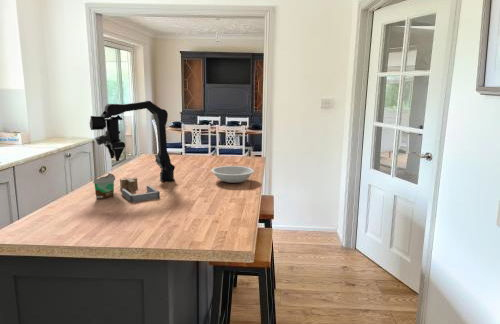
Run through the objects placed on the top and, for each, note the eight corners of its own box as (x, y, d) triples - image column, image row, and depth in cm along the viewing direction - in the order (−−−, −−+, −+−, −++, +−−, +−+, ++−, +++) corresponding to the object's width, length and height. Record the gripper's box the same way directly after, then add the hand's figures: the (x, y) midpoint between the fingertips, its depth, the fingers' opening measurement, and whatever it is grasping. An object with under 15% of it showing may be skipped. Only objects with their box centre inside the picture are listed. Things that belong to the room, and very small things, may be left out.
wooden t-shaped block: (136, 186, 191) (135, 177, 190) (141, 190, 185) (140, 180, 184) (120, 188, 187) (120, 179, 186) (125, 192, 180) (124, 182, 179)
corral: (149, 191, 183) (149, 185, 182) (159, 197, 172) (159, 191, 171) (122, 195, 175) (121, 188, 175) (131, 202, 164) (130, 196, 164)
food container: (106, 201, 165) (105, 179, 163) (94, 200, 167) (93, 178, 165) (121, 194, 177) (120, 173, 175) (109, 193, 178) (108, 173, 176)
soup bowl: (245, 189, 190) (245, 176, 189) (203, 184, 198) (203, 172, 197) (259, 179, 212) (260, 167, 211) (222, 175, 220) (222, 164, 219)
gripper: (91, 128, 187) (93, 158, 190) (100, 131, 172) (102, 164, 175) (114, 127, 193) (115, 156, 196) (124, 130, 178) (126, 162, 181)
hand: (114, 159), depth 187 cm, fingers open, 9 cm apart
